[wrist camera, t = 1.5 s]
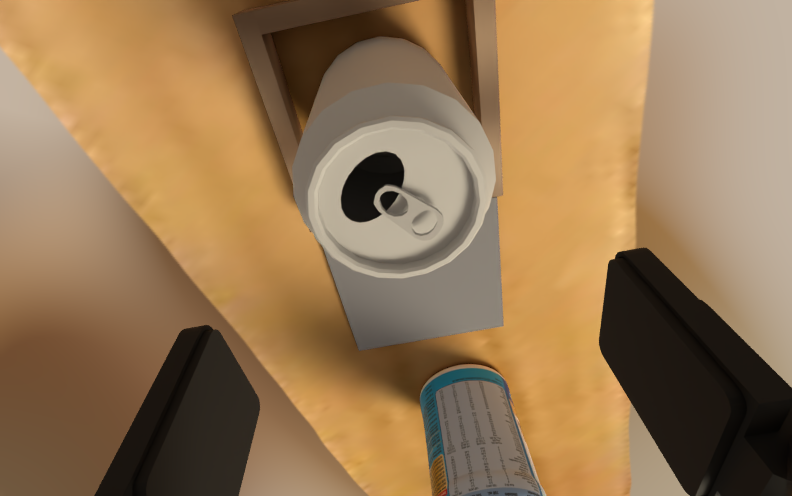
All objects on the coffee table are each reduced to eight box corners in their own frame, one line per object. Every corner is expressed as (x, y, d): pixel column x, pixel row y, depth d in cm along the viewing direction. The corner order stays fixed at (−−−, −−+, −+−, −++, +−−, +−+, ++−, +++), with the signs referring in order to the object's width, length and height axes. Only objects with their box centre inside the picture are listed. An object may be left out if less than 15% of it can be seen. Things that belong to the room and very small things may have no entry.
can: (360, 1, 21) (354, 42, 11) (477, 84, 24) (556, 175, 14) (296, 128, 24) (248, 245, 14) (404, 187, 27) (426, 321, 17)
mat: (317, 228, 28) (317, 231, 28) (495, 194, 28) (497, 197, 27) (359, 347, 35) (359, 350, 35) (502, 322, 34) (503, 326, 34)
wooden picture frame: (242, 10, 21) (232, 15, 19) (483, -43, 20) (493, -43, 18) (313, 215, 28) (310, 231, 26) (494, 180, 27) (503, 195, 25)
